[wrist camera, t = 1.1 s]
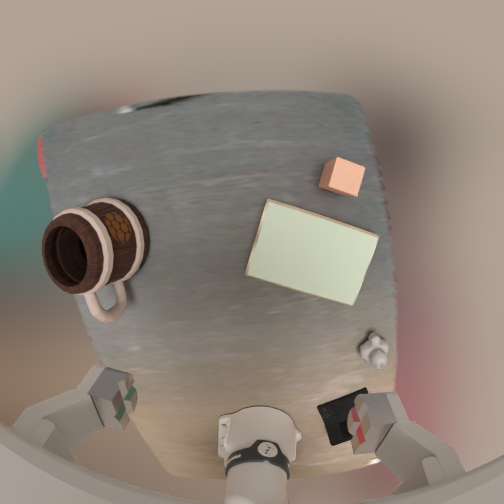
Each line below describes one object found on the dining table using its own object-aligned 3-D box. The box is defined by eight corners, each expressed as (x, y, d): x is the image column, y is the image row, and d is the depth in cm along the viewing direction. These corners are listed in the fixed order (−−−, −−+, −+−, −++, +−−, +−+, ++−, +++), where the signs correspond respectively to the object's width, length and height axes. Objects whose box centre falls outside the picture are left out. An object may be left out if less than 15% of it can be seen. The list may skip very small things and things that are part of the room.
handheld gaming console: (363, 385, 49) (377, 430, 43) (370, 387, 54) (383, 427, 47) (311, 405, 53) (323, 448, 46) (323, 406, 58) (334, 445, 51)
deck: (348, 299, 47) (353, 308, 43) (246, 269, 47) (243, 276, 44) (372, 232, 45) (380, 236, 41) (267, 197, 45) (267, 198, 41)
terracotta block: (341, 195, 44) (357, 196, 35) (317, 187, 44) (328, 186, 35) (348, 171, 43) (365, 167, 34) (325, 163, 43) (337, 156, 34)
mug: (76, 210, 48) (22, 220, 33) (139, 185, 46) (89, 186, 31) (105, 307, 51) (62, 341, 37) (170, 295, 50) (134, 333, 35)
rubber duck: (358, 360, 50) (368, 384, 42) (356, 331, 48) (368, 353, 41) (384, 353, 49) (397, 376, 41) (383, 324, 48) (399, 345, 40)
